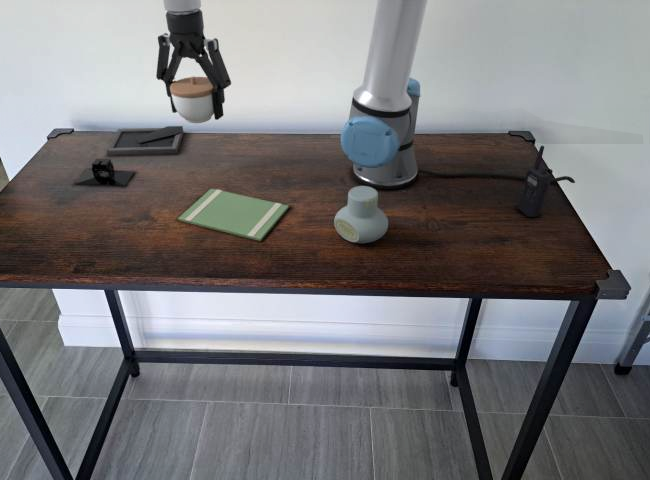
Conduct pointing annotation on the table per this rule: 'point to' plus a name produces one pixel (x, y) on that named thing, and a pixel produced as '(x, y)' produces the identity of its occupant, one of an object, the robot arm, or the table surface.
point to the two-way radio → (535, 188)
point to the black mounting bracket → (104, 175)
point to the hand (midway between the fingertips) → (197, 114)
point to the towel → (234, 214)
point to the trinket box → (193, 99)
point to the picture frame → (146, 141)
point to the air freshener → (361, 217)
